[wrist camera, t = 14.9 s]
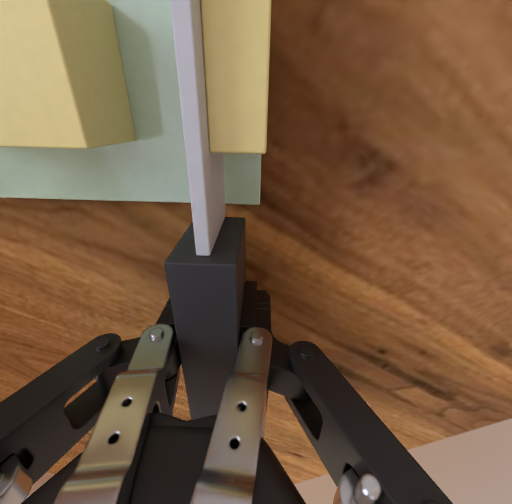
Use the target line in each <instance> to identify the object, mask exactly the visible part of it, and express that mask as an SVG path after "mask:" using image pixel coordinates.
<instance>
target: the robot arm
mask: <svg viewBox="0 0 512 504" xmlns="http://www.w3.org/2000/svg"><path fill="white" fill-rule="evenodd" d="M180 365H181V358H180V352H179V346H178V340H177V335H176V329H175V323H174V317H173V311H172V306H171V300H170V298H169V301H168V302H167V304H166V306H165V308H164V309H163V311H162V313H161V315H160V317H159V319H158V321H157V323H156V325H153V326H150V327H149V328H147V329H146V330H145V331H144V332H143V333H142V335H141V337H139V338H135V339H130V340H125V341H121V338H120V336H118V335H117V334H112V333H110V334H104V335H101V336H98V337H96V338H95V339H93V340H92V341H90V342H89V343H87V344H86V345H84V346H83V347H81V348H80V349H78V350H77V351H75V352H74V353H72V354H71V355H69V356H68V357H67V358H65V359H64V360H62V361H61V362H59V363H58V364H56V365H55V366H53V367H52V368H50V369H49V370H47V371H46V372H45V373H43V374H42V375H40V376H39V377H37V378H36V379H34V380H33V381H31V382H30V383H28V384H27V385H25V386H24V387H23V388H21V389H20V390H18V391H17V392H15V393H14V394H12V395H11V396H9V397H8V398H6V399H5V400H3V401H2V402H1V403H0V504H306V503H305V502H304V500H303V498H302V497H301V495H300V494H299V492H298V490H297V489H296V487H295V486H294V484H293V482H292V481H291V479H290V478H289V476H288V475H287V473H286V471H285V470H284V468H283V467H282V465H281V464H280V462H279V460H278V459H277V457H276V456H275V454H274V453H273V451H272V449H271V448H270V446H269V445H268V444H267V443H266V441H265V440H264V429H265V418H266V409H267V400H268V391H269V390H270V391H273V392H275V393H278V394H281V395H283V396H285V399H286V401H287V402H288V404H289V406H290V408H291V409H292V411H293V413H294V414H295V416H296V418H297V419H298V421H299V423H300V425H301V426H302V428H303V430H304V431H305V433H306V435H307V437H308V438H309V440H310V442H311V443H312V445H313V447H314V448H315V450H316V452H317V454H318V455H319V457H320V459H321V460H322V462H323V464H324V465H325V467H326V469H327V471H328V472H329V474H330V476H331V477H332V479H333V481H334V483H335V484H336V486H337V487H338V488H337V490H336V493H335V496H334V501H333V504H452V502H451V501H450V500H449V499H448V497H447V496H446V495H445V494H444V493H443V492H442V491H441V489H440V488H439V487H438V486H437V485H436V484H435V482H434V481H433V480H432V479H431V478H430V477H429V475H428V474H427V473H426V472H425V471H424V470H423V468H422V467H421V466H420V465H419V464H418V463H417V461H416V460H415V459H414V458H413V457H412V456H411V454H410V453H409V452H408V451H407V450H406V449H405V447H404V446H403V445H402V444H401V443H400V442H399V441H398V439H397V438H396V437H395V436H394V435H393V434H392V432H391V431H390V430H389V429H388V428H387V427H386V425H385V424H384V423H383V422H382V421H381V420H380V418H379V417H378V416H377V415H376V414H375V413H374V411H373V410H372V409H371V408H370V407H369V406H368V405H367V403H366V402H365V401H364V400H363V399H362V398H361V396H360V395H359V394H358V393H357V392H356V391H355V389H354V388H353V387H352V386H351V385H350V384H349V382H348V381H347V380H346V379H345V378H344V377H343V375H342V374H341V373H340V372H339V371H338V370H337V369H336V367H335V366H334V365H333V364H332V363H331V362H330V360H329V359H328V358H327V357H326V356H325V355H324V353H323V352H322V351H321V350H320V349H319V348H318V347H317V346H316V345H315V344H313V343H311V342H308V341H298V342H295V343H293V344H292V345H291V346H290V345H287V344H284V343H281V342H279V341H278V340H277V339H276V338H275V337H274V336H273V334H272V332H271V310H270V296H269V294H268V293H267V291H261V290H257V281H245V286H244V295H243V304H242V312H241V321H240V345H239V349H238V353H237V357H236V360H235V364H234V368H233V371H232V372H230V373H229V375H228V378H227V382H226V386H225V389H224V393H223V397H222V400H221V404H220V408H219V411H218V415H211V416H207V417H203V418H198V419H194V420H189V421H185V420H182V419H179V418H176V417H173V408H174V403H175V397H176V392H177V387H178V382H179V377H180ZM94 378H95V380H96V382H95V383H94V384H93V385H92V386H90V387H89V388H88V389H87V390H86V391H84V392H83V393H82V394H81V395H79V396H78V397H77V398H76V399H75V400H73V401H72V402H71V403H70V404H69V405H67V406H66V407H65V408H64V406H65V404H66V402H67V401H68V400H69V399H70V398H71V397H72V396H73V395H75V394H76V393H77V392H78V391H79V390H81V389H82V388H83V387H84V386H86V385H87V384H88V383H89V382H91V381H92V380H93V379H94ZM93 427H94V428H93ZM92 428H93V430H92V433H91V435H90V437H89V440H88V442H87V444H86V446H85V449H84V451H83V452H82V453H80V454H79V455H78V456H77V457H76V458H74V459H73V460H72V461H71V462H70V463H68V464H67V465H66V466H65V467H64V468H62V469H61V470H60V471H59V472H58V473H57V474H55V475H54V476H53V477H52V478H51V479H49V480H48V481H47V482H46V483H45V484H43V485H42V486H41V487H40V488H39V489H37V491H35V492H34V493H33V494H31V495H30V496H29V497H28V498H27V496H28V494H29V492H30V490H31V487H32V485H33V484H34V483H35V482H36V481H37V480H38V479H40V477H42V476H43V475H44V474H45V473H46V472H47V471H48V470H49V469H50V468H51V467H52V466H53V465H54V464H55V463H56V462H57V461H58V460H59V459H60V458H61V457H62V456H64V455H65V454H66V453H67V452H68V451H69V450H70V449H71V448H72V447H73V446H74V445H75V444H76V443H77V442H78V441H79V440H80V439H81V438H82V437H83V436H84V435H85V434H86V433H88V432H89V431H90V430H91V429H92ZM26 498H27V499H26Z"/></svg>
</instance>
